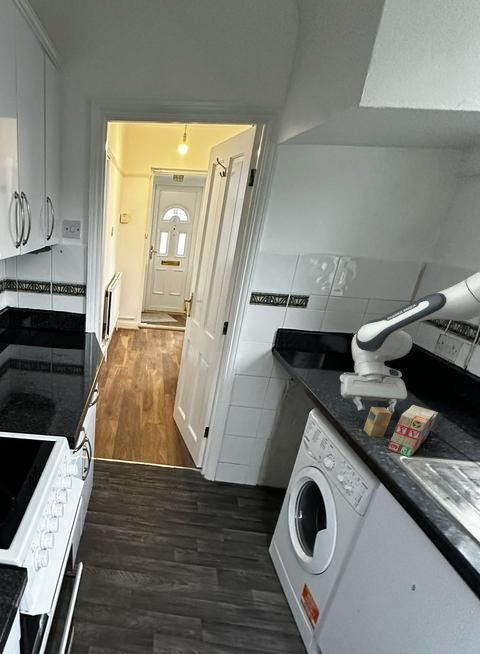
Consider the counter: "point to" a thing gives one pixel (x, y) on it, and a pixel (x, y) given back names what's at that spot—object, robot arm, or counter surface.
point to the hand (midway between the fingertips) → (376, 411)
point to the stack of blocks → (412, 430)
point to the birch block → (377, 421)
